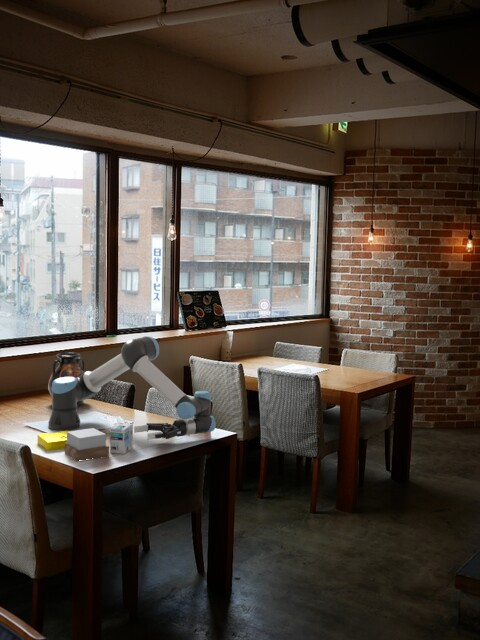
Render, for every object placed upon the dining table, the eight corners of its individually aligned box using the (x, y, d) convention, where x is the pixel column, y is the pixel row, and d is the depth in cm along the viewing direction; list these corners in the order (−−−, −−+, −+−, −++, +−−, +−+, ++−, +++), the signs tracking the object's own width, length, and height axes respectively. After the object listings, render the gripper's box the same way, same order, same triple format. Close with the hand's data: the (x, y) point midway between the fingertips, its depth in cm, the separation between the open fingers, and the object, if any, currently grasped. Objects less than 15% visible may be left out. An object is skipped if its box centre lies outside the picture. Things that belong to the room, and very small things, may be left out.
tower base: (64, 454, 307) (64, 442, 306) (96, 449, 314) (96, 438, 314) (76, 462, 295) (76, 451, 295) (108, 458, 303) (108, 446, 302)
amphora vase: (76, 398, 413) (76, 350, 410) (95, 405, 397) (95, 355, 394) (41, 403, 399) (41, 353, 396) (59, 410, 383) (59, 358, 380)
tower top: (66, 443, 305) (66, 431, 305) (93, 439, 312) (93, 428, 312) (79, 450, 296) (79, 438, 295) (105, 445, 303) (105, 434, 302)
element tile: (68, 439, 330) (68, 429, 329) (80, 447, 317) (80, 436, 317) (36, 443, 322) (36, 433, 321) (46, 452, 309) (46, 441, 309)
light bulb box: (124, 454, 307) (124, 429, 306) (109, 453, 309) (109, 428, 307) (133, 447, 318) (133, 423, 317) (118, 446, 319) (118, 422, 318)
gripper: (197, 442, 319) (153, 448, 307) (170, 429, 340) (129, 434, 328) (197, 425, 318) (153, 431, 306) (170, 413, 339) (129, 418, 327)
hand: (140, 433), depth 317 cm, fingers open, 13 cm apart
